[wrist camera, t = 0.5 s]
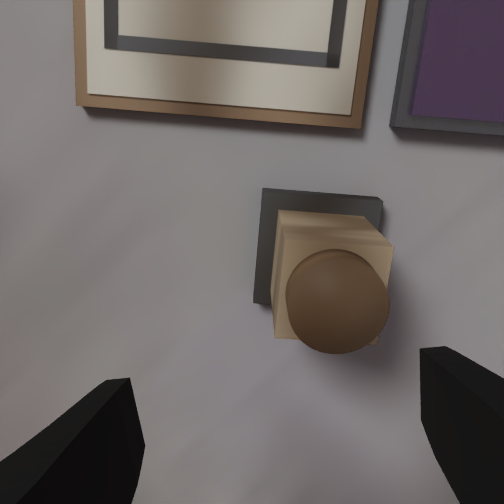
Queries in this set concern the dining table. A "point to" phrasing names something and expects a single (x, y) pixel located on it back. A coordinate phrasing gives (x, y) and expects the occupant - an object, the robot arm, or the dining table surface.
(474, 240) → the dining table surface
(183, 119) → the dining table surface
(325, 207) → the stamp
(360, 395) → the dining table surface
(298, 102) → the board
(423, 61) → the ink pad
